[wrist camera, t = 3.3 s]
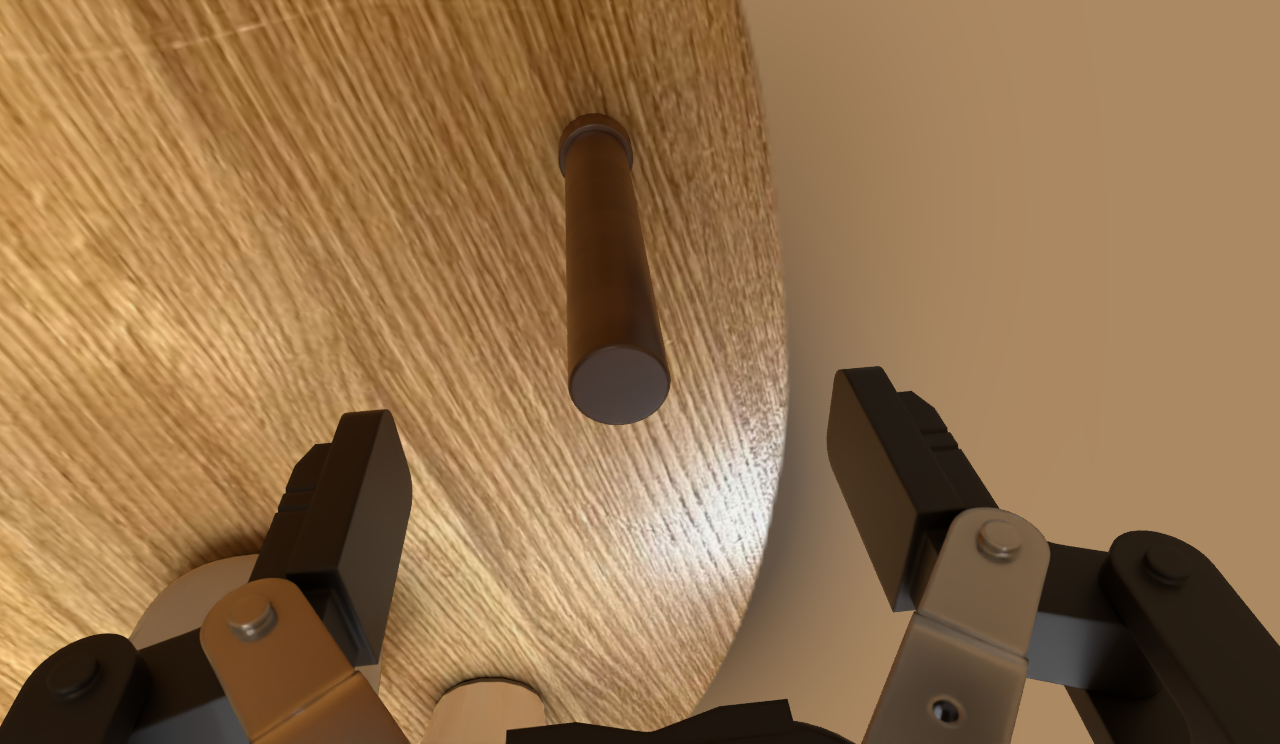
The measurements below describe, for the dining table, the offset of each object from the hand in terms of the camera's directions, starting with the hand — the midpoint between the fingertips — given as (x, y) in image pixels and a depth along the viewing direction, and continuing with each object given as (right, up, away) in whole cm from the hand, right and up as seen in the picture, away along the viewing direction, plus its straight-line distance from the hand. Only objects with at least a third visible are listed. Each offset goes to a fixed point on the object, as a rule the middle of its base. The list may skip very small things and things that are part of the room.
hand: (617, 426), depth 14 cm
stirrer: (-1, +8, +11) cm, 14 cm away
